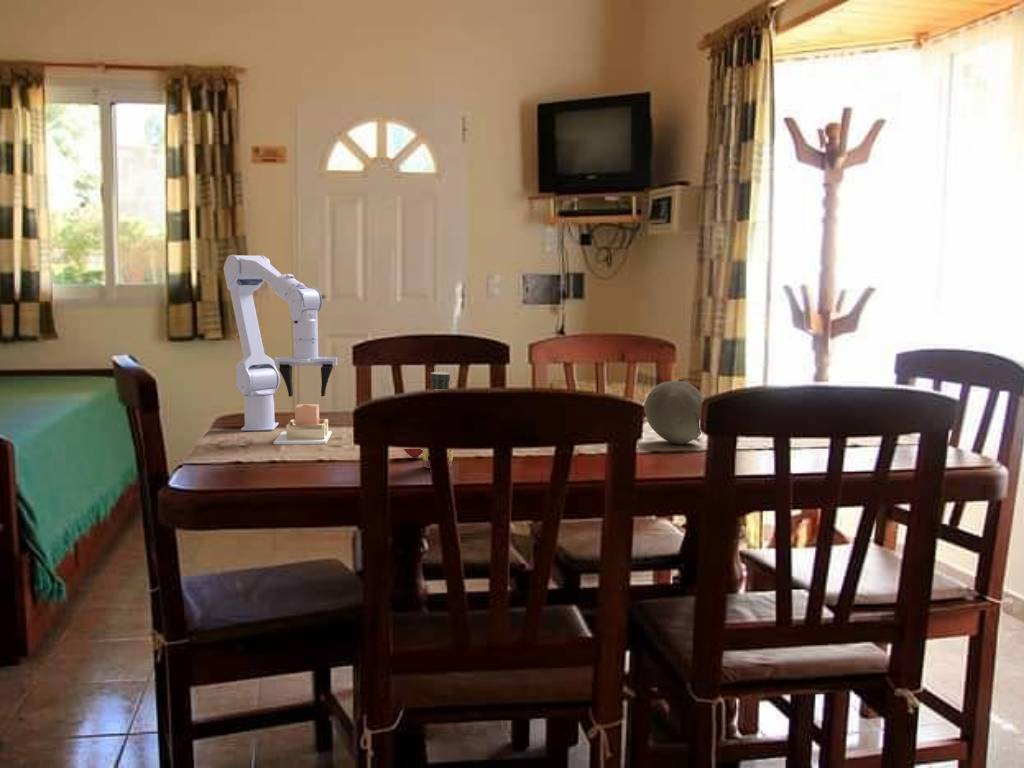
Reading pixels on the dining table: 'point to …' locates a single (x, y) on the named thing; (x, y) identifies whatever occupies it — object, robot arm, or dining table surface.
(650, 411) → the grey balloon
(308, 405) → the terracotta block
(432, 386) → the sauce bottle
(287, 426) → the birch tray
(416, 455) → the onion
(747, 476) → the dining table surface
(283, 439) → the white board
